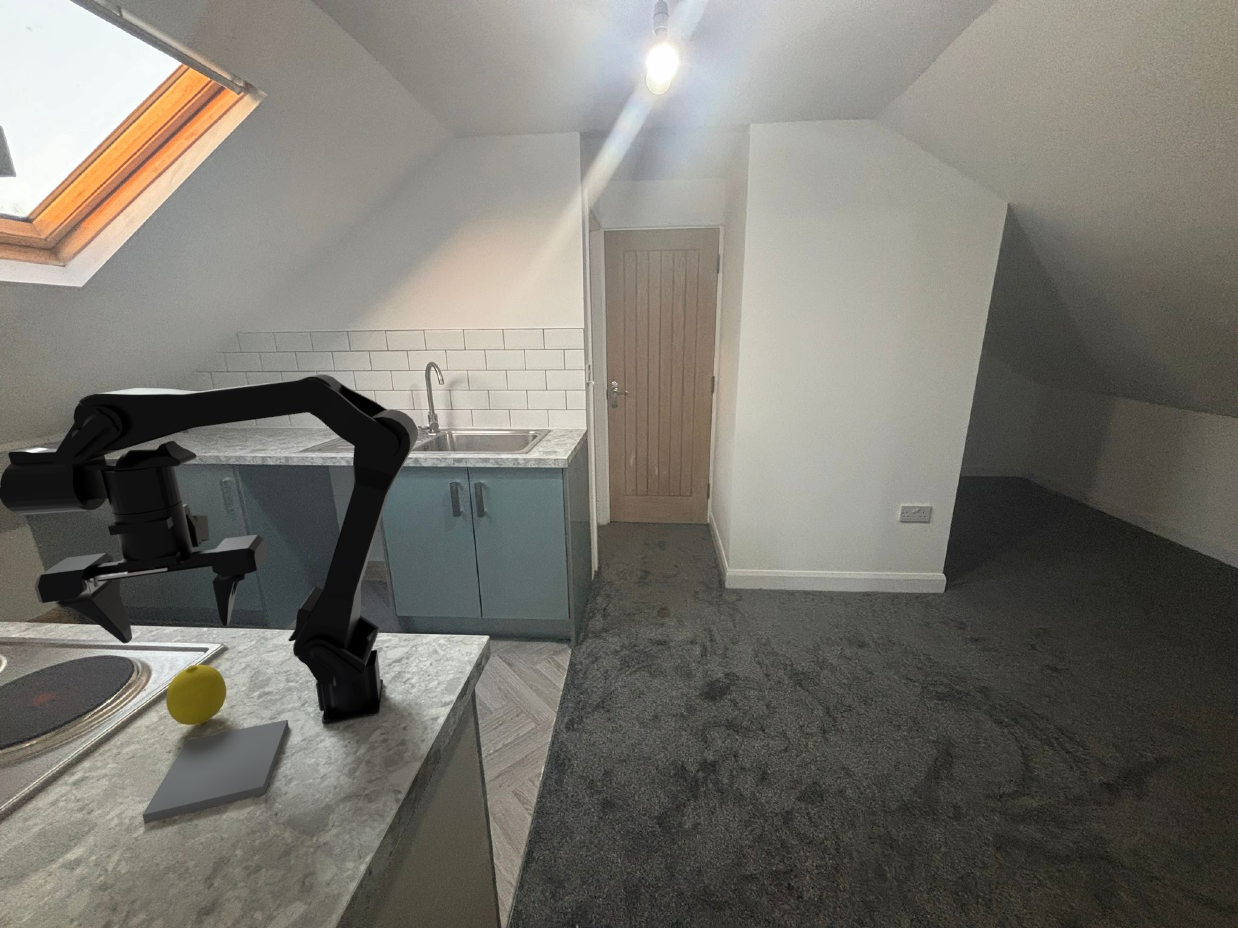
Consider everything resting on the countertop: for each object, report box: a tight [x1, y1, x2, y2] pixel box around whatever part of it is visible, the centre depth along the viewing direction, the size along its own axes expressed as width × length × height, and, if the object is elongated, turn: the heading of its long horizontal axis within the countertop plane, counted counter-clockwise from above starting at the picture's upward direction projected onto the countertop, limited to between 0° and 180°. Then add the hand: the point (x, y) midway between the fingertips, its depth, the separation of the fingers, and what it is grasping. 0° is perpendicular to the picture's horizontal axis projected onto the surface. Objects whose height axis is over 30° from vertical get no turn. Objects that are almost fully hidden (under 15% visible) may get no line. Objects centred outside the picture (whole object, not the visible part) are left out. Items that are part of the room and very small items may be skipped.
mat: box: [142, 719, 289, 824], centre depth 55 cm, size 10×10×1 cm
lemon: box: [165, 664, 227, 726], centre depth 61 cm, size 6×6×8 cm
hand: (178, 632), depth 59 cm, fingers open, 9 cm apart
